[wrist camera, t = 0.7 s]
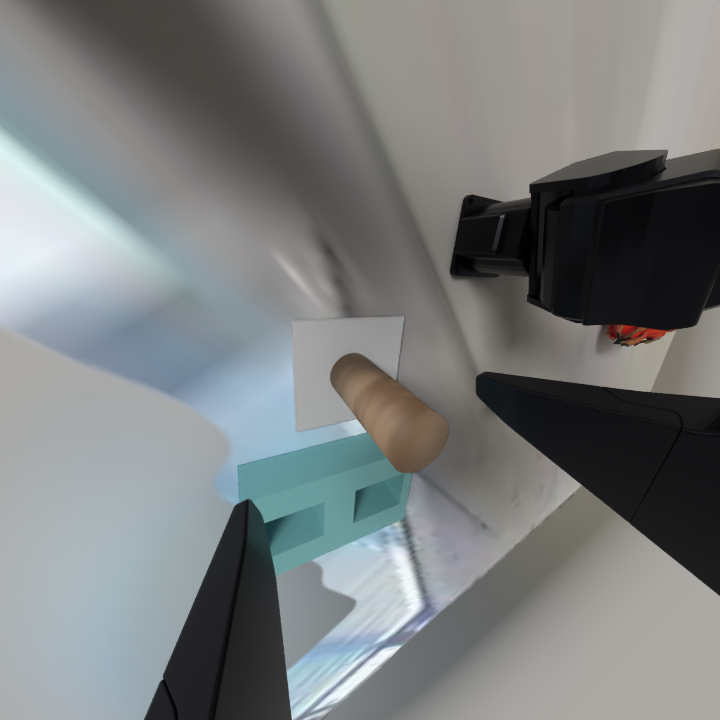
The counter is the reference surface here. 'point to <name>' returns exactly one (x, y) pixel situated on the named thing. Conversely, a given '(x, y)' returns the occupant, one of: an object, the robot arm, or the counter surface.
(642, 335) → the dragon fruit
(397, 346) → the rubber mat
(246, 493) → the hole block
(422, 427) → the walnut peg
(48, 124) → the counter surface
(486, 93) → the counter surface
